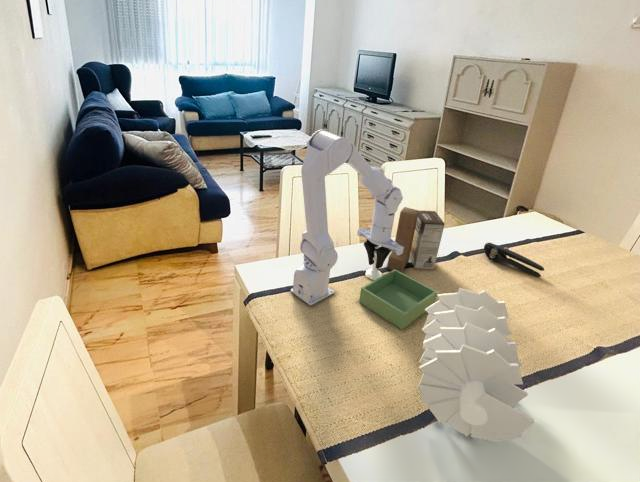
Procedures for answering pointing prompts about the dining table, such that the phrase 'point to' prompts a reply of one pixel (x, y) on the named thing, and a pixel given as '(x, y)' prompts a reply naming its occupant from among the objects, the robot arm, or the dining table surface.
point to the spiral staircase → (472, 367)
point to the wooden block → (403, 239)
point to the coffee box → (426, 239)
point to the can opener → (500, 254)
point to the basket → (397, 298)
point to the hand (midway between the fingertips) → (375, 265)
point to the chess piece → (374, 269)
